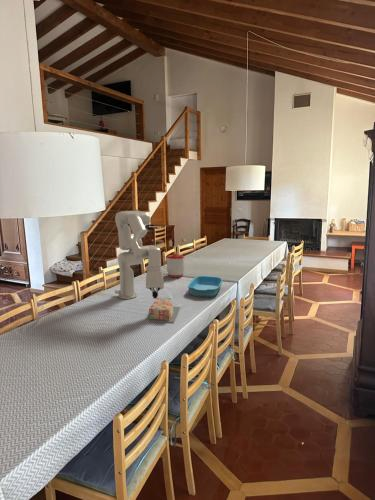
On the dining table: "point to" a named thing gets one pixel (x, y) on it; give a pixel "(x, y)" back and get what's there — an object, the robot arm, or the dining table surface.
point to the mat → (174, 315)
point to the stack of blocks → (161, 309)
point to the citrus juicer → (175, 265)
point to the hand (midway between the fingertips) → (155, 297)
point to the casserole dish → (205, 286)
